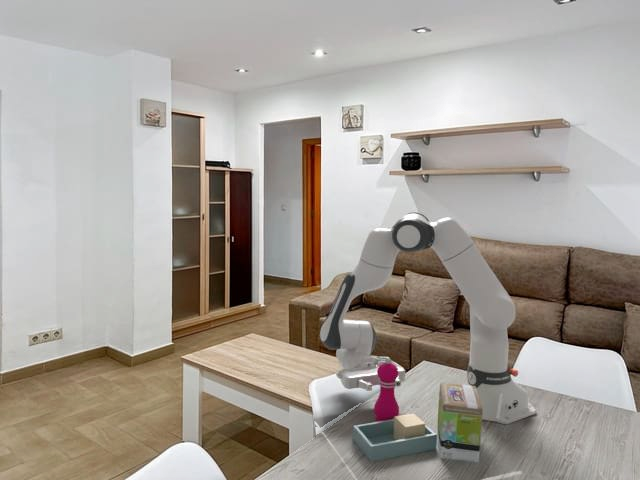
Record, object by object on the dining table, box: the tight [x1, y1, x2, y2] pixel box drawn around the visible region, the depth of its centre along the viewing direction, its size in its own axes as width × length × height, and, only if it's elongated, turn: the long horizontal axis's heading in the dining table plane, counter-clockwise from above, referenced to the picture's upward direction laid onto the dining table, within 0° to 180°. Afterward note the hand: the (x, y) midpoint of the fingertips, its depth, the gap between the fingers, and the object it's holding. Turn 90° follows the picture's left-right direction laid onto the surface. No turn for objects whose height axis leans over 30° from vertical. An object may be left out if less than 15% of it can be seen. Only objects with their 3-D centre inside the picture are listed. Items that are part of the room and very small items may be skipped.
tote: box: [352, 419, 438, 463], centre depth 125 cm, size 19×11×4 cm, turn 110°
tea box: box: [436, 382, 483, 463], centre depth 125 cm, size 15×10×15 cm, turn 168°
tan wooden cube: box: [393, 413, 426, 440], centre depth 127 cm, size 6×6×6 cm
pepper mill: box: [373, 357, 400, 422], centre depth 136 cm, size 7×7×20 cm
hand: (384, 386), depth 138 cm, fingers open, 8 cm apart
